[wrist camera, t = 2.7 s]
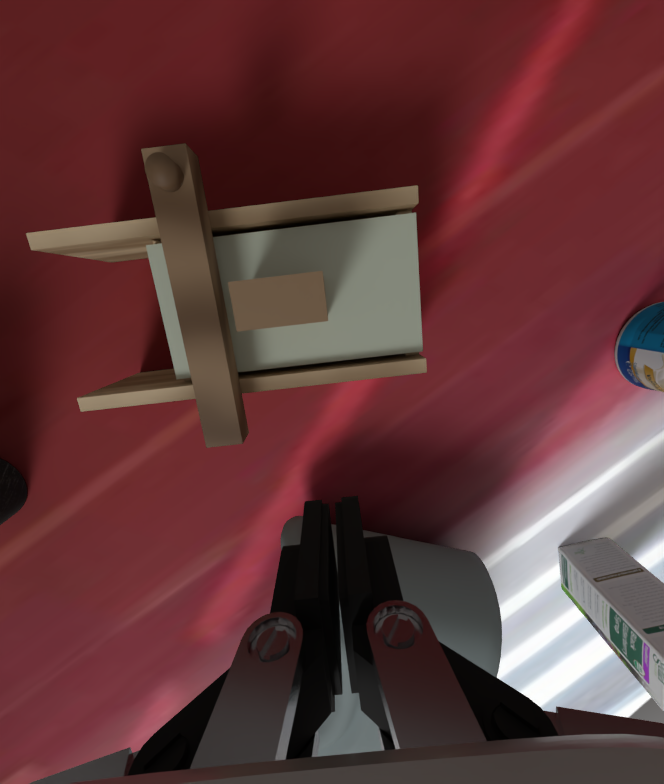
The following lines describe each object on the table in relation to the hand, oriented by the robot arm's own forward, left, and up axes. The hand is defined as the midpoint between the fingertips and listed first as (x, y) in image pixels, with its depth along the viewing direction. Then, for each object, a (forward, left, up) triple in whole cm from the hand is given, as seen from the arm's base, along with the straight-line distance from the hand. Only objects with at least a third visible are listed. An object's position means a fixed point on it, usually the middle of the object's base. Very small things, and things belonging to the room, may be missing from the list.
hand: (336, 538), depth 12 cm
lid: (-8, -2, -17) cm, 19 cm away
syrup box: (+24, +26, -24) cm, 43 cm away
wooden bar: (-8, -8, -15) cm, 18 cm away
